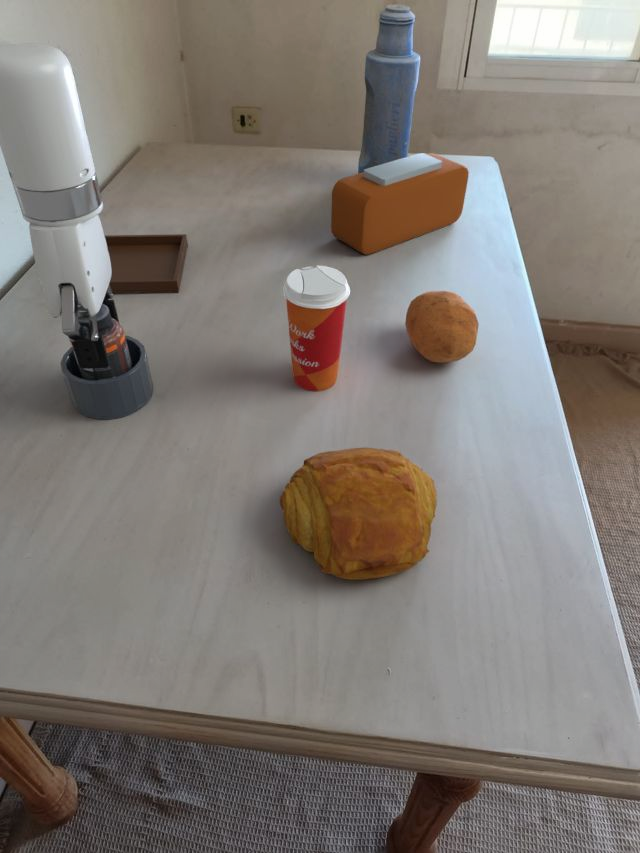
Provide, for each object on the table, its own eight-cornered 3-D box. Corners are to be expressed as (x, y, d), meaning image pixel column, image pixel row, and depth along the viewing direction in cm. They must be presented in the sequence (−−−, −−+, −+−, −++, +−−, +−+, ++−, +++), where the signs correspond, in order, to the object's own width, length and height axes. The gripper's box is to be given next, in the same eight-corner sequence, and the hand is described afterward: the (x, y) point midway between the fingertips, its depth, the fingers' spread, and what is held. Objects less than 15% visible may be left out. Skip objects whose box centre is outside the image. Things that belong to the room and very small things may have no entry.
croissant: (285, 489, 69) (272, 437, 64) (426, 470, 68) (425, 415, 63) (289, 604, 58) (274, 552, 53) (456, 583, 57) (458, 528, 52)
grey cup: (64, 421, 73) (51, 384, 70) (82, 370, 80) (71, 334, 77) (147, 418, 74) (139, 382, 70) (157, 368, 81) (150, 333, 77)
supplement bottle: (123, 369, 80) (104, 291, 72) (146, 392, 77) (128, 313, 69) (79, 388, 77) (54, 308, 69) (100, 413, 74) (76, 333, 66)
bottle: (352, 175, 129) (361, 1, 108) (399, 172, 130) (416, 0, 110) (363, 194, 122) (375, 12, 102) (412, 191, 123) (433, 11, 103)
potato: (466, 328, 89) (476, 281, 84) (480, 377, 81) (492, 329, 75) (401, 327, 89) (407, 279, 84) (408, 376, 80) (415, 327, 75)
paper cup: (277, 366, 82) (273, 269, 72) (332, 354, 84) (335, 258, 74) (297, 403, 76) (295, 303, 67) (355, 389, 78) (362, 291, 69)
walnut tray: (62, 295, 94) (58, 283, 92) (83, 246, 105) (80, 235, 103) (178, 292, 95) (176, 280, 93) (187, 245, 106) (186, 234, 104)
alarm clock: (428, 205, 119) (437, 143, 111) (461, 221, 114) (472, 157, 106) (329, 239, 108) (331, 173, 100) (361, 258, 103) (365, 190, 95)
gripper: (42, 162, 66) (83, 308, 79) (-10, 237, 54) (49, 397, 66) (115, 161, 67) (144, 306, 79) (79, 236, 54) (121, 395, 66)
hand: (100, 346), depth 72 cm, fingers open, 6 cm apart
